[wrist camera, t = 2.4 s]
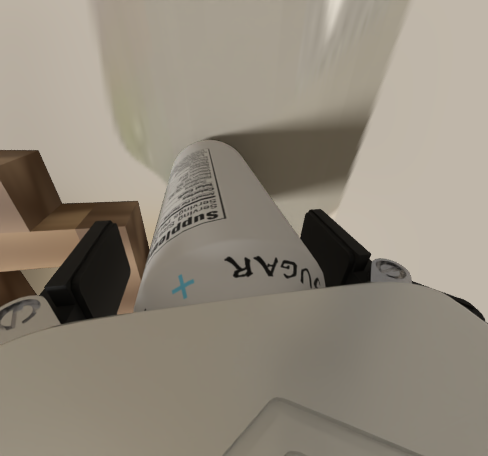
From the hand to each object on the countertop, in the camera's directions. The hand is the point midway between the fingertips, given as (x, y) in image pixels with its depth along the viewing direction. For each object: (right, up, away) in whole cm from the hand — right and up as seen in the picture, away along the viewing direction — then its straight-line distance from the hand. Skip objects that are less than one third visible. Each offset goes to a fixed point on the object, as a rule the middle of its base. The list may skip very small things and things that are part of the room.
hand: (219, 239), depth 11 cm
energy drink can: (-2, +5, +7) cm, 9 cm away
